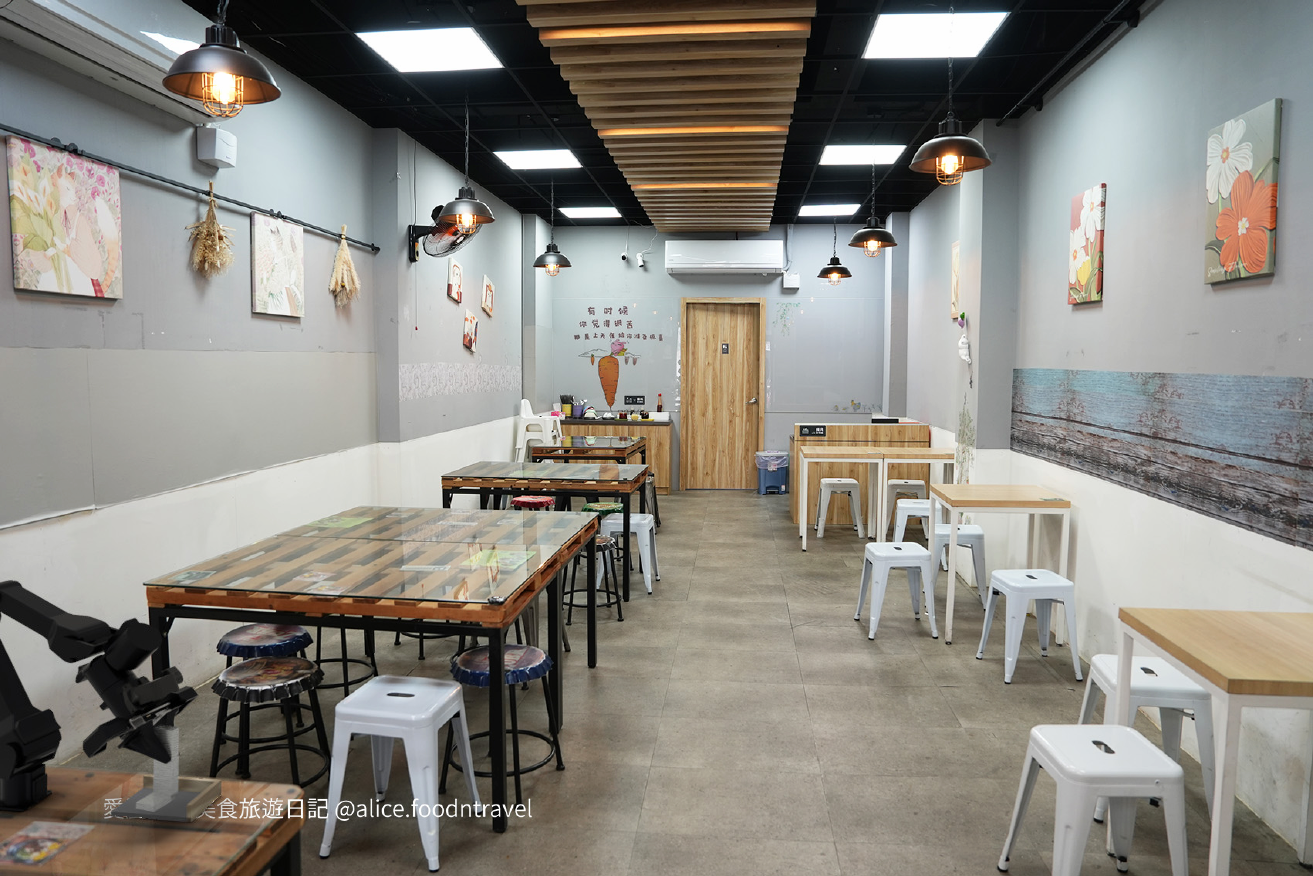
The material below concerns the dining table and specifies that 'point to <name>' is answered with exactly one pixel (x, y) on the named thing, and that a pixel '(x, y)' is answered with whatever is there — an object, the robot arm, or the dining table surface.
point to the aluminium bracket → (164, 771)
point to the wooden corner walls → (205, 786)
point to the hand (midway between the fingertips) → (173, 759)
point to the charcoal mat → (169, 812)
